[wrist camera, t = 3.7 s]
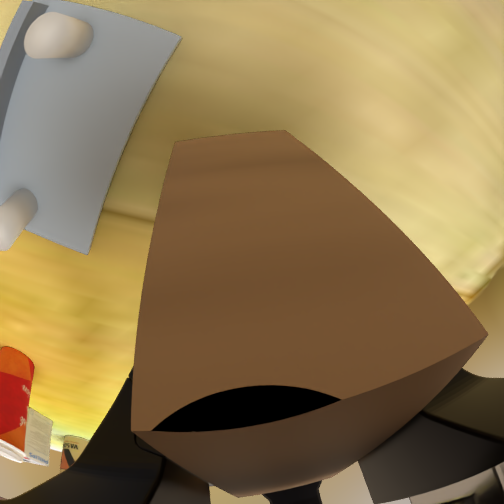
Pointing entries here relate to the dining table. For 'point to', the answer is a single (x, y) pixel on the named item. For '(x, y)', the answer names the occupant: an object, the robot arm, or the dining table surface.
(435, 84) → the dining table surface
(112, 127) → the wall panel
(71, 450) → the coffee cup
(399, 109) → the dining table surface
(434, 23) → the dining table surface
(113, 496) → the robot arm
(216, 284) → the brown box shape
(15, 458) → the paper cup
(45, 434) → the light bulb box
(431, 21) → the dining table surface
